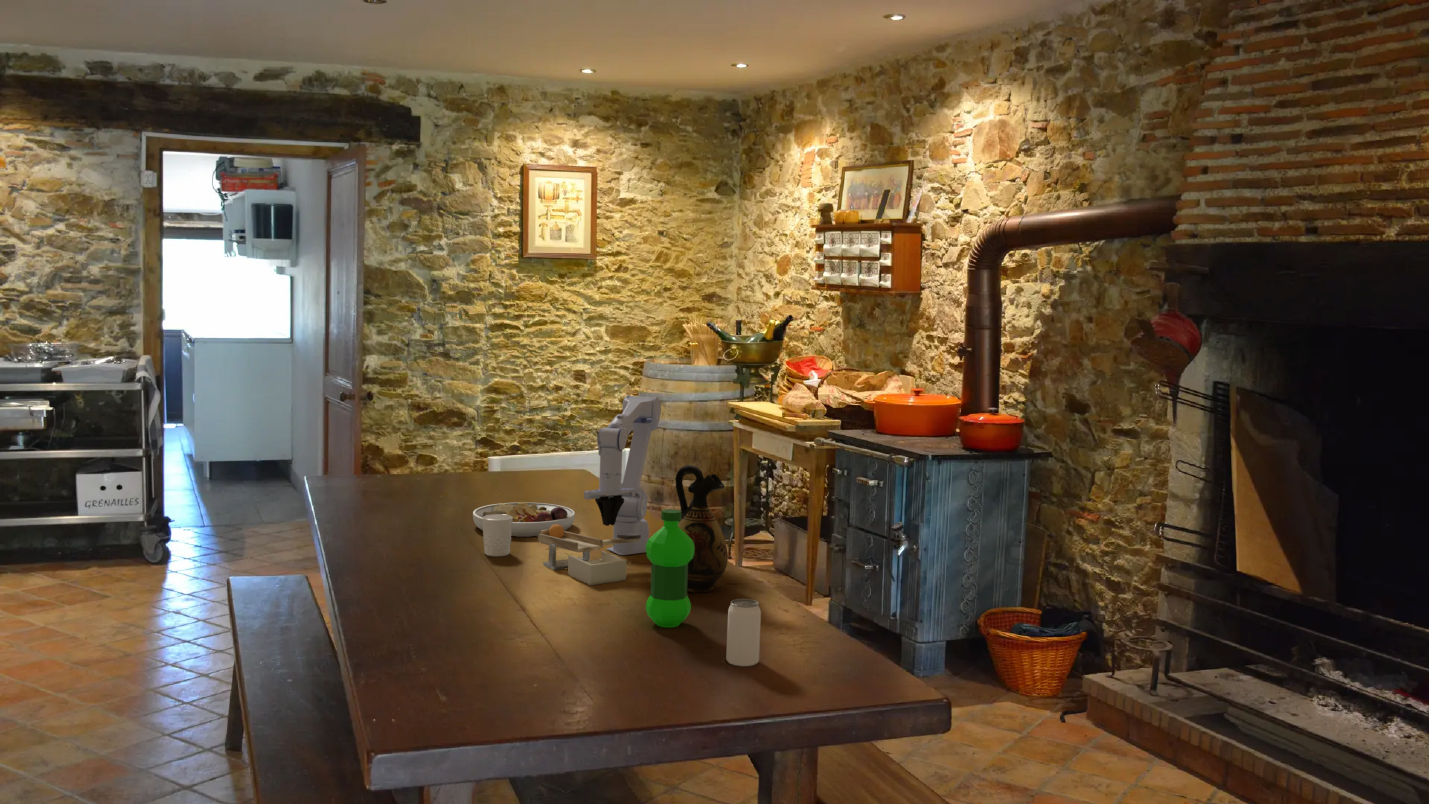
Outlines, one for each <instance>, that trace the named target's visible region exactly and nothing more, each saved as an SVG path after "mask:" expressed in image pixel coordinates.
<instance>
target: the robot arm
mask: <svg viewBox="0 0 1429 804" xmlns="http://www.w3.org/2000/svg"><path fill="white" fill-rule="evenodd" d="M661 413H662V403H661V399H660V398H659V397H658V396H640V395H638V396H637V395H631V394H630V395H629V394H627V395H625V397H624V398H623V401H622V413H618V414H617V415H615V416H614V418H613V419H612V420H611V422H610V423H609V424H608V425H607V427H606V426H604V427H602V428H601V429H599V430H598V433H597V438H596V441H597V444H596V445H597V449H598V456H599V479H598V480H599V481H598V488H597V489H591V490H585V491H583V499H584V500H587V501H588V500H589V501H590V500H592V499H593V500H594V499H595V500H594V501H595V503H596V504H597V507H598V509H599V513H600V515H601V516H600V517H601V521H602V525H603V526H607V527H608V526H613V530H612V531H613V534H612V535H613V536H612V539H617V535H618V534H627V533H634V534H639V535H641V538H639V541H636V542H628V543H620V544H612V547H607V548H606V550H607V551H610V552H612V553H615V554H617V555H619V556H628V555H635V554H643V553H646V544H647V541H648V539H649V538H650V527H649V526H650V525H649V523H648V521H647V520H646V519H645V517H646V515H647V510H648V495H647V492H646V491H645V490H644V489H643V488H642V487H641V483H642V482H641V481H642V477H643V472H644V467H645V463H646V458H647V457H646V456H647V453H648V448H649V444H650V439H651V435H652V432H654V431H655V430H657V429H658V426H659V423H660V420H661V419H660V418H661ZM631 432H633V433H632V437H631V442H630V447H629V452H628V457H627V462H626V467H625V471H624V475H623V481H622V470H623V468H622V465H623V450H624V449H625V447H626V444H627V441H628V436H629V435H630V434H631Z"/></svg>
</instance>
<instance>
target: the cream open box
mask: <svg viewBox="0 0 1429 804" xmlns="http://www.w3.org/2000/svg"><path fill="white" fill-rule="evenodd" d="M600 554H601V555H600V556H601V557H600V558H598V559H590V560H589V561H583V560H580V559H578V558H579V557H576V556H574V555H569V554H568V556H567V559H568V569H567V575H568V574H569V575H570V577H571V576H572V578H573V577H575V578H576V580H578V581H579V582H582V583H585V584H586V583H587V584H586V585H588V586H595V585H601V584H608V583H609V584H610V583H616V582H622V581H623V580H624V581H627V560H626V559H623V558H621V557H618V556H616V555H614V554H611V553H609V552H607V551H604V550H601V553H600ZM569 575H568V576H569ZM575 578H574V579H575ZM624 581H623V582H624Z"/></svg>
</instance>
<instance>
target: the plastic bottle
mask: <svg viewBox="0 0 1429 804" xmlns="http://www.w3.org/2000/svg"><path fill="white" fill-rule="evenodd" d="M680 510H681V509H680ZM680 510H679V509H675V508H674V509H673V508H672V509H671V508H669V509H668V508H667V509H662V510H661V513H660V517H661V520H662V521H663V526H662V527H660V529H659V530H657V531H656V532H654V533H653V534H652V536H649V539H648V541H647V544H646V552H645V553H646V558H647V559H648V560H649V561H650V562H651V565H650V566H651V567H650V592H649V593H650V594H649V596H648V598H647V600H646V602H645V611H646V615H647V616H648V617H649V618H650V619H651V620H652V622H654V623H655V625H657V627H661V628H676V627H679V626H680V624H681V623H683V622H684V621H685V620H686V618H688V616H689V615H690V613H691V610H692V603H691V600H690V599H689V596H688V591H687V579H688V563H689V562H690V560H691V559H692V558H693V556H694V550H695V546H694V543H693V540H692V539H691V538H690V537H689V536H688V535H687V534H686V533H685V532H684V531H683V530H682V529H680V528H679V527H678V524H679V521H680V520H681V511H680Z"/></svg>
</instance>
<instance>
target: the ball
mask: <svg viewBox="0 0 1429 804" xmlns="http://www.w3.org/2000/svg"><path fill="white" fill-rule="evenodd" d="M549 535H550V536H552V537H556V538H562V536H563V535H564V529H563V527H562V526H561V525H558V524H555V525H552V526H551V527H550V529H549Z"/></svg>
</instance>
